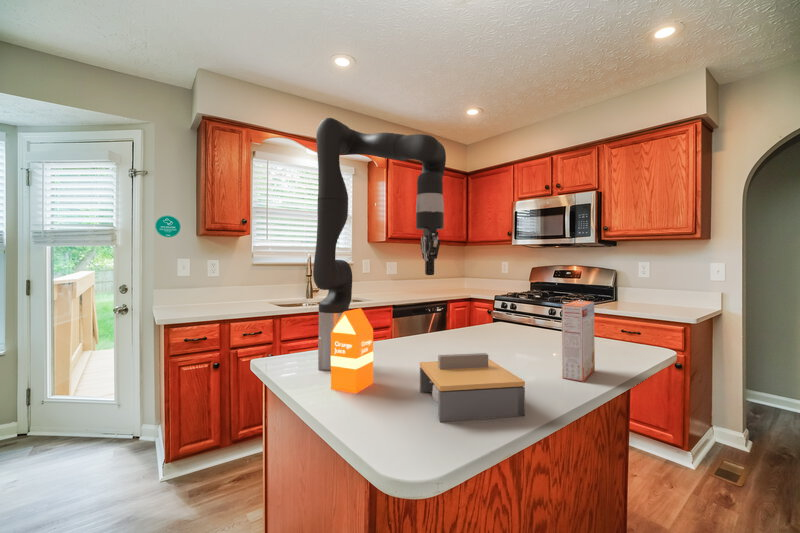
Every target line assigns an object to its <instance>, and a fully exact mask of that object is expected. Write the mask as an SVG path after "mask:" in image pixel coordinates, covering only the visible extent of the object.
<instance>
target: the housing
mask: <svg viewBox="0 0 800 533" xmlns="http://www.w3.org/2000/svg"><path fill="white" fill-rule="evenodd" d="M429 381H431V379H430V378H429V377H428V376H427V374H426V373H425V372H424V371H423V369H422V368H421V367H420V366H419V392H420V393H432V391H433V385H434V384H433V383H430V382H429ZM525 392H526V390H525V386H519V387H502V388H485V389H468V390H451V391H438V403H437V404H438V405H437V406H438V407H437V408H438V409H437V410H438V412H437V413H438V416H437V418H438V422H439V423H445V422H459V421H460V422H461V421H469V420H470V421H472V420H473V421H474V420H486V419H487V420H488V419H498V418H499V419H500V418H514V417H524V416H525V415H526V414H525V412H526V411H525V409H526V408H525V405H526V403H525V402H526V399H525V398H526V396H525Z"/></svg>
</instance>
